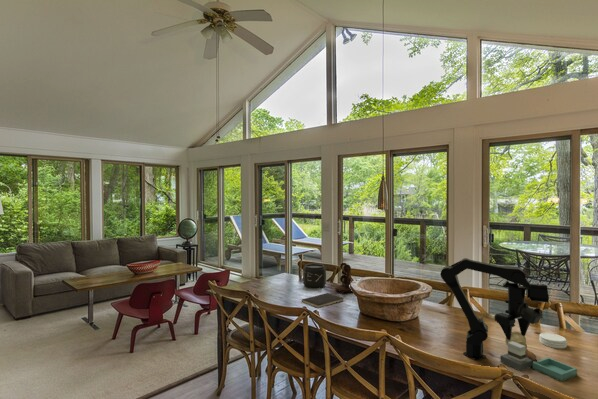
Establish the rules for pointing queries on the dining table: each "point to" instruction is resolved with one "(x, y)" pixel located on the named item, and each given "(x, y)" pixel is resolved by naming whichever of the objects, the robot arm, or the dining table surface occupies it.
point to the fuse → (516, 351)
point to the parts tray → (555, 369)
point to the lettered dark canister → (314, 276)
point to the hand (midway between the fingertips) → (516, 337)
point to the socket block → (516, 362)
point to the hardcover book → (322, 300)
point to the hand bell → (521, 340)
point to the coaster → (553, 340)
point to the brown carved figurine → (344, 278)
